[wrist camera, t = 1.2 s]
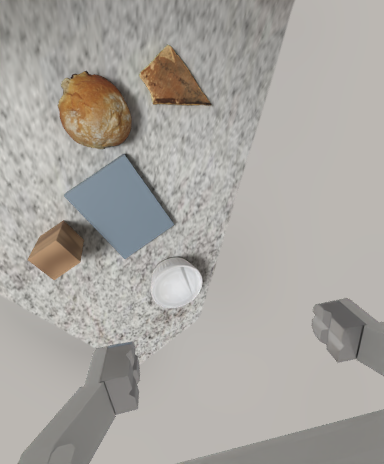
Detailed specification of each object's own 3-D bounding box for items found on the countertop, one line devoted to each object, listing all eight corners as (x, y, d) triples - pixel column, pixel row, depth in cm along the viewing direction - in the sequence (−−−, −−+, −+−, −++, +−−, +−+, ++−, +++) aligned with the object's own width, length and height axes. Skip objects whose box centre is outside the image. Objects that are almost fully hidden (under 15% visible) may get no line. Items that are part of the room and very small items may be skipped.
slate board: (65, 193, 40) (63, 195, 39) (123, 153, 40) (124, 154, 39) (124, 255, 48) (124, 259, 47) (172, 221, 49) (174, 224, 47)
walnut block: (39, 236, 41) (27, 259, 35) (63, 220, 42) (56, 240, 35) (61, 255, 44) (54, 280, 37) (83, 239, 44) (80, 262, 37)
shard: (208, 105, 42) (212, 104, 40) (177, 136, 42) (180, 136, 41) (167, 44, 36) (170, 40, 35) (132, 80, 37) (134, 78, 35)
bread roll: (74, 141, 40) (80, 168, 36) (41, 73, 32) (42, 98, 28) (131, 127, 42) (142, 151, 38) (112, 59, 34) (125, 80, 30)
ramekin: (203, 265, 56) (212, 278, 52) (175, 299, 58) (181, 315, 53) (167, 244, 51) (174, 256, 46) (137, 282, 52) (140, 298, 48)
